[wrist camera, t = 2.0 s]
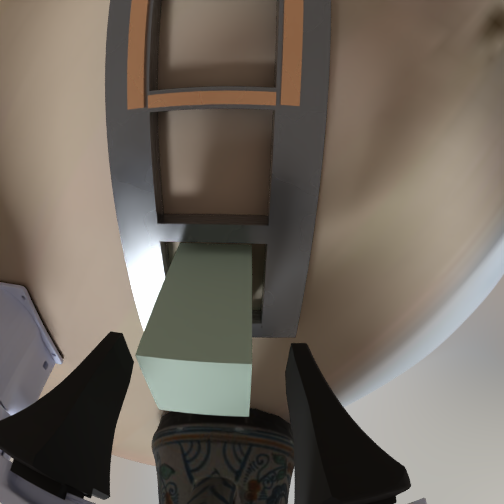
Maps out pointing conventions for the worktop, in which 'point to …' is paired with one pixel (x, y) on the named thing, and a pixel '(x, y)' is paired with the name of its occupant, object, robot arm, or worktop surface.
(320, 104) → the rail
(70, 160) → the worktop surface
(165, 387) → the peg
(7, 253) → the worktop surface
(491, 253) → the worktop surface
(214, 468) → the beer stein
